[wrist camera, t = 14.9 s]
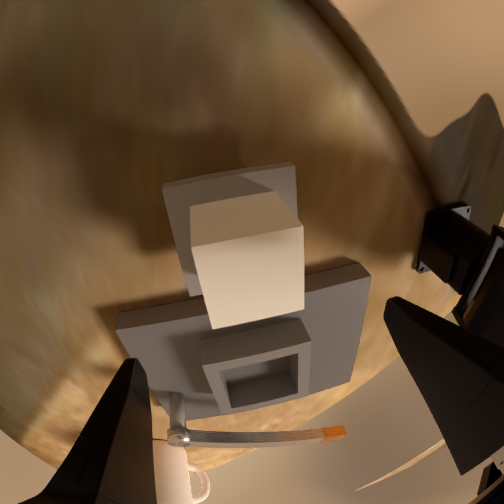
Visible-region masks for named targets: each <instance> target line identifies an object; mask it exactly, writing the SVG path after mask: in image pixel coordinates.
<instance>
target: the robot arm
mask: <svg viewBox="0 0 504 504" xmlns="http://www.w3.org/2000/svg"><path fill="white" fill-rule="evenodd" d="M470 212H471V207H470V206H469V205H468V204H465V205H459V206H454V207H448V208H443V209H438V210H432V211H429V212H428V213H427V215H426V219H425V225H424V231H423V237H422V242H421V247H420V252H419V257H418V262H417V266H416V271H417V272H418V273H419V274H421V273H424V272H427V271H430V270H431V271H432V272H433V273H435V274H436V275H437V276H438V277H439V278H440V279H441V280H442V281H443V282H444V283H448V284H449V285H450V286H451V287H452V288H453V289H454V290H455V291H456V292H457V293H458V294H459V295H462V296H461V298H460V299H459V301H458V303H457V305H456V306H455V307H454V308H453V310H452V313H453V315H454V317H455V319H456V320H457V322H458V324H459V326H458V325H456V324H454V323H452V322H450V321H448V320H446V319H444V318H442V317H440V316H438V315H436V314H434V313H432V312H430V311H427V310H425V309H423V308H421V307H419V306H417V305H415V304H413V303H411V302H409V301H407V300H405V299H403V298H401V297H398V296H395V297H392V298H389V299H388V300H387V302H386V306H385V311H384V321H385V323H386V325H387V328H388V330H389V332H390V334H391V336H392V339H393V341H394V343H395V346H396V348H397V350H398V352H399V354H400V356H401V358H402V359H403V361H404V363H405V365H406V366H407V368H408V370H409V372H410V374H411V375H412V377H413V379H414V381H415V383H416V385H417V386H418V388H419V390H420V392H421V394H422V396H423V398H424V399H425V401H426V403H427V405H428V407H429V409H430V411H431V413H432V415H433V417H434V419H435V421H436V423H437V425H438V427H439V429H440V431H441V433H442V435H443V437H444V440H445V442H446V444H447V446H448V448H449V450H450V452H451V454H452V457H453V459H454V461H455V463H456V466H457V468H458V470H459V472H460V474H461V475H464V474H465V473H466V472H468V471H470V470H471V469H473V468H474V467H476V466H477V465H479V464H480V463H482V462H483V461H484V460H486V459H487V458H489V457H490V456H491V458H492V460H493V461H492V462H491V463H490V464H489V465H488V466H486V467H485V468H484V470H483V474H482V478H481V482H480V486H479V489H478V493H477V495H478V497H476V498H475V499H474V500H473V501H471V502H470V503H469V504H504V228H503V227H500V226H497V225H493V227H492V232H491V235H489V234H488V233H486V232H485V231H484V230H482V229H481V228H479V227H478V226H476V225H475V224H473V223H472V222H470V221H469V217H470ZM18 504H157V497H156V487H155V474H154V459H153V438H152V414H151V406H150V398H149V389H148V380H147V374H146V372H145V370H144V368H143V367H142V365H141V363H140V362H139V360H138V359H137V358H128V359H125V360H124V362H123V363H122V365H121V367H120V368H119V370H118V371H117V373H116V375H115V376H114V378H113V379H112V381H111V383H110V384H109V386H108V388H107V389H106V391H105V393H104V394H103V396H102V398H101V399H100V401H99V403H98V404H97V406H96V408H95V409H94V411H93V413H92V414H91V416H90V418H89V420H88V421H87V423H86V425H85V426H84V428H83V430H82V432H81V433H80V436H79V437H78V439H77V440H76V442H75V444H74V445H73V447H72V449H71V451H70V452H69V454H68V455H67V457H66V458H65V460H64V461H63V463H62V464H61V466H60V467H59V469H58V470H57V472H56V473H55V474H54V476H53V477H52V479H51V480H50V482H49V483H48V485H47V486H46V487H45V489H44V490H43V491H42V492H41V493H39V494H38V495H37V496H35V497H33V498H30V499H28V500H26V501H23V502H21V503H18Z"/></svg>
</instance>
